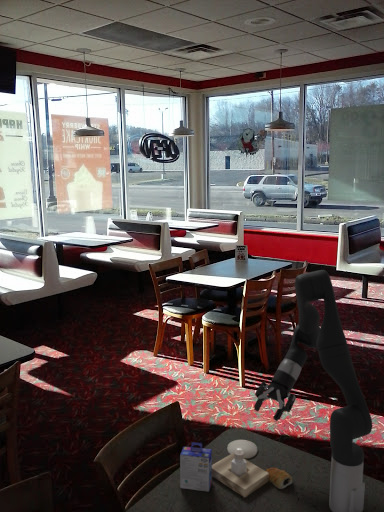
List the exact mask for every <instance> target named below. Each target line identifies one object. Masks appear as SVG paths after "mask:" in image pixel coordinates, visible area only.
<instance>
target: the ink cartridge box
mask: <svg viewBox="0 0 384 512" xmlns="http://www.w3.org/2000/svg"><path fill="white" fill-rule="evenodd" d="M194 446H199V447H194ZM212 452H213V449H211V448H203V443H202V442H194V441H193V442H192V441H191V446H183V447H182V450H181V452H180V456H179V461H180V462H179V465H180V466H179V469H180V471H179V472H180V473H179V475H180V477H179V478H180V480H179V481H180V484H179V487H180V489H185V490H186V489H187V490H192V491H193V490H194V491H201V492H202V491H203V492H210V490H211V488H212V487H211V486H212V484H213V477H212V465H213V457H212V456H213V453H212Z"/></svg>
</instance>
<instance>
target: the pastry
mask: <svg viewBox="0 0 384 512" xmlns="http://www.w3.org/2000/svg"><path fill="white" fill-rule="evenodd" d="M265 471H266V472H268V473H269V481H268V482H270V483H271V484H272V485H273V486H274V487H275V488H277V489H279V490H283V489H285V488H286V487H287V486H290V485H292V483H293V477H292V476H291V474H289V473H288V472H286V471H285V470H284V469H279V468H277V467H270V468H266V469H265Z"/></svg>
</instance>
